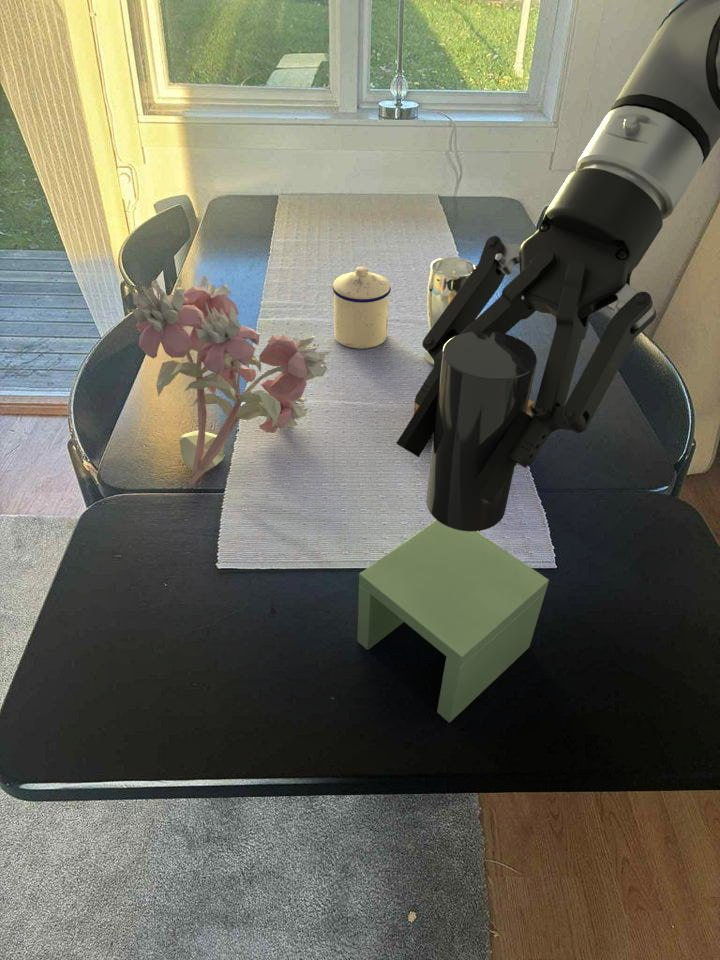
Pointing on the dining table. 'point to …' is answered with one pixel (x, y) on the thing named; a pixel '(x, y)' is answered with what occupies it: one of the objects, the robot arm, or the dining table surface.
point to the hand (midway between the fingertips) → (443, 472)
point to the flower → (223, 364)
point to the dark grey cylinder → (475, 423)
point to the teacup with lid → (361, 308)
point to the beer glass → (445, 287)
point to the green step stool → (454, 606)
